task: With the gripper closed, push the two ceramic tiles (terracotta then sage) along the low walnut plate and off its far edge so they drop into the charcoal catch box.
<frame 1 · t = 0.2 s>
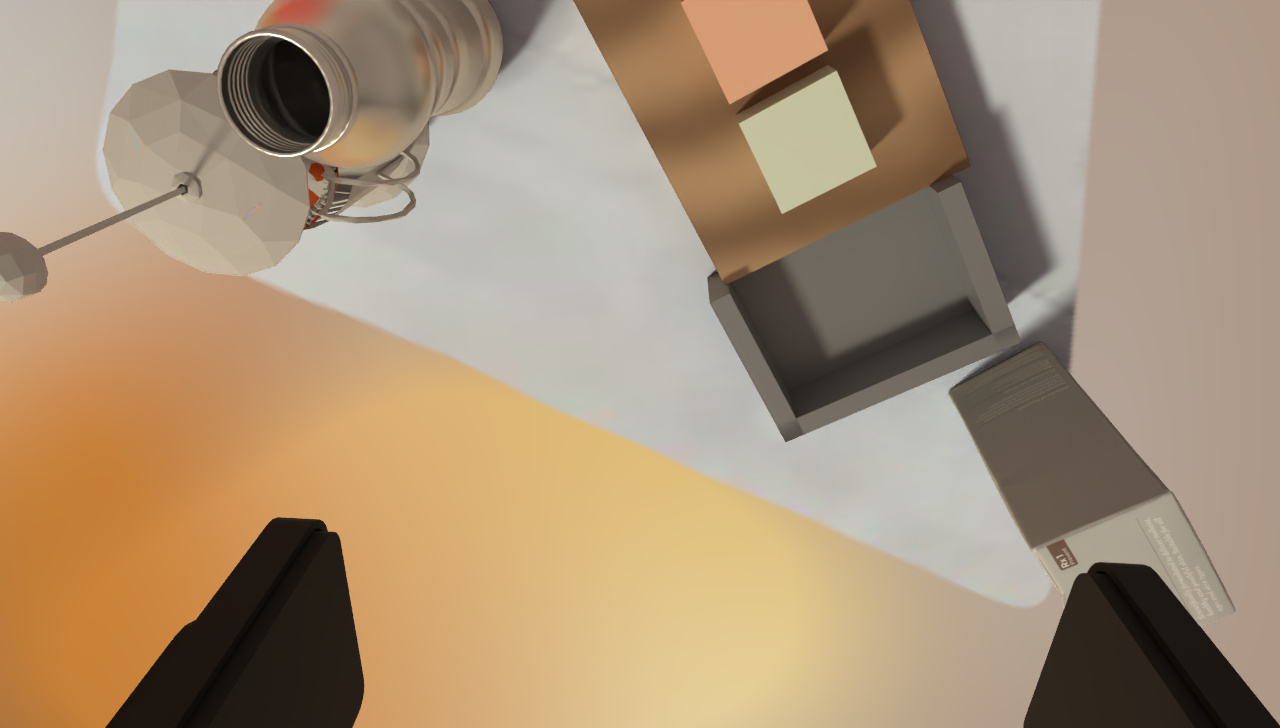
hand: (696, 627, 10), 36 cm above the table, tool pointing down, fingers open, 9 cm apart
catch box: (851, 295, 47), on the table
walnut plate: (767, 66, 41), on the table
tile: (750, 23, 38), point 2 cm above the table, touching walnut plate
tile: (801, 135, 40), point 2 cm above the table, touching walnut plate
metal bottle: (451, 41, 41), on the table
skincare box: (1012, 409, 50), on the table
french press: (358, 123, 44), on the table
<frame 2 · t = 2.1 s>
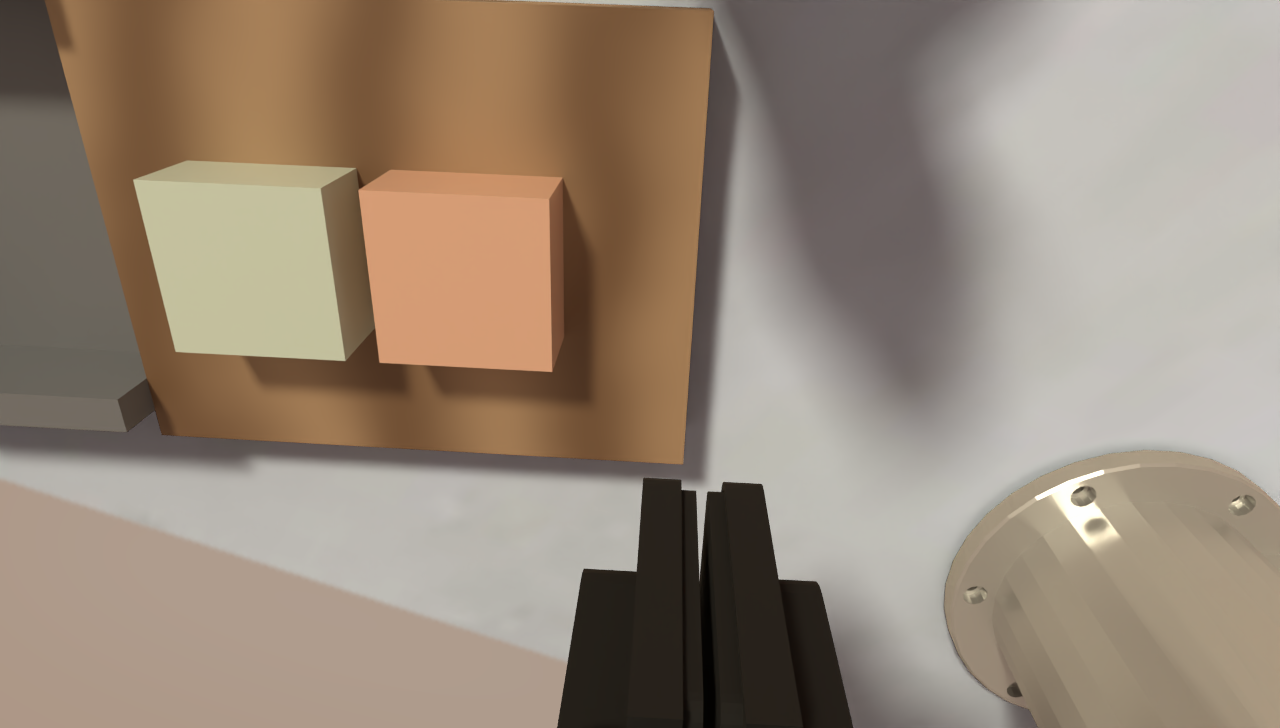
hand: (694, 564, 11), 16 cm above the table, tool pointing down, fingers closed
catch box: (3, 180, 26), on the table
walnut plate: (423, 229, 26), on the table
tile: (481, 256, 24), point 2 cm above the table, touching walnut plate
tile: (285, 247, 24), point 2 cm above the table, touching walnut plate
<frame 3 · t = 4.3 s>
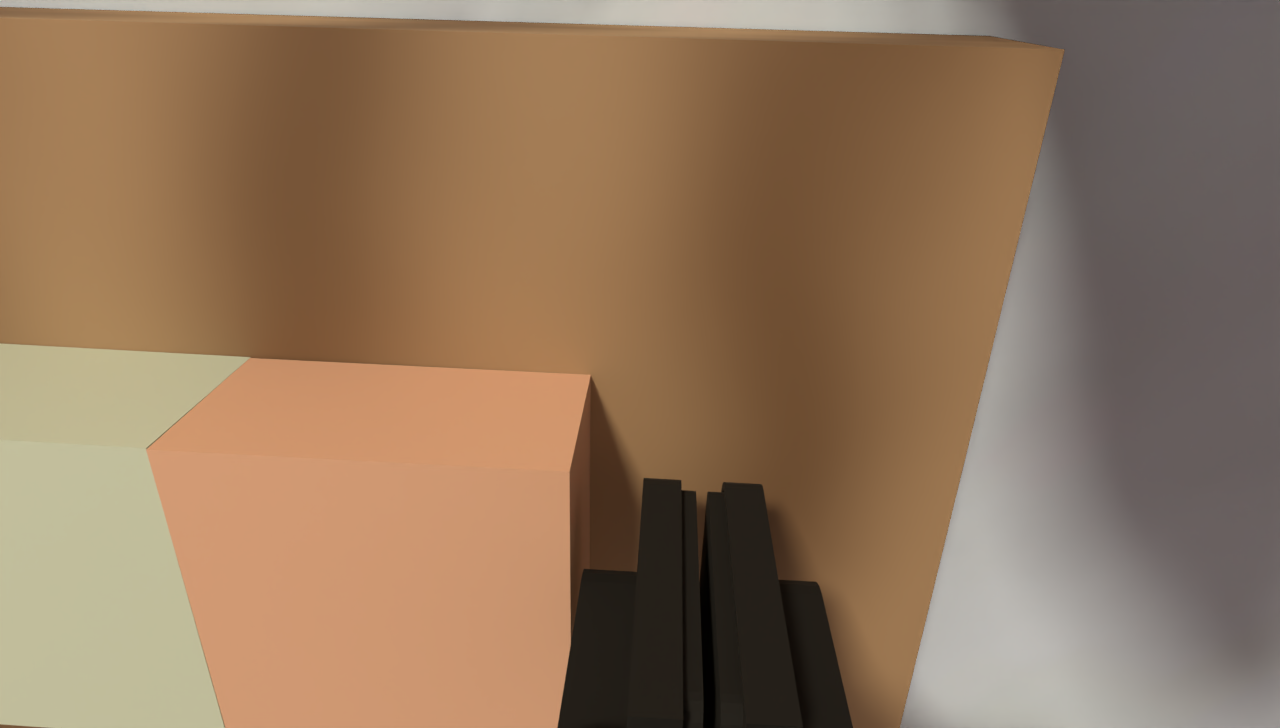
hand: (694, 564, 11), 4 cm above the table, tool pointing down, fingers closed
walnut plate: (424, 423, 15), on the table
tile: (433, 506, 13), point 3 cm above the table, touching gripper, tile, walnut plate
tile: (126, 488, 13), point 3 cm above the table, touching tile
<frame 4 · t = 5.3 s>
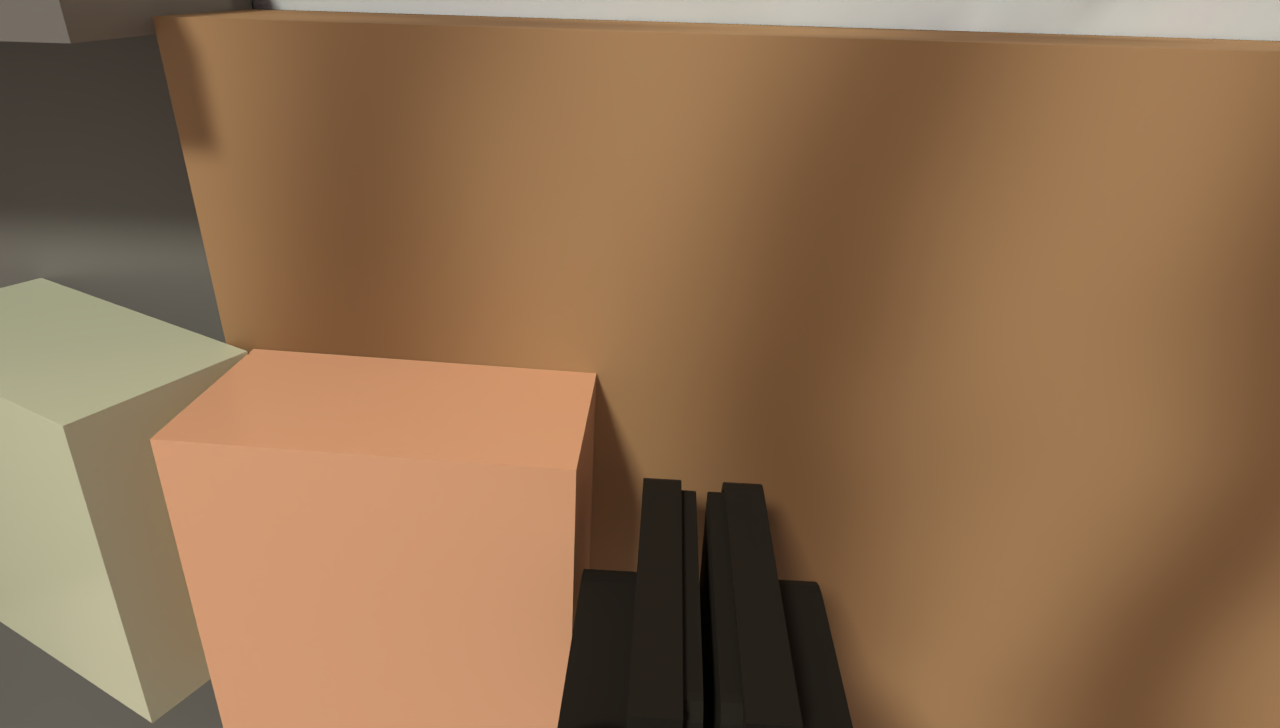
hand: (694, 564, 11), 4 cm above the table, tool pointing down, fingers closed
catch box: (48, 356, 15), on the table
walnut plate: (803, 438, 15), on the table
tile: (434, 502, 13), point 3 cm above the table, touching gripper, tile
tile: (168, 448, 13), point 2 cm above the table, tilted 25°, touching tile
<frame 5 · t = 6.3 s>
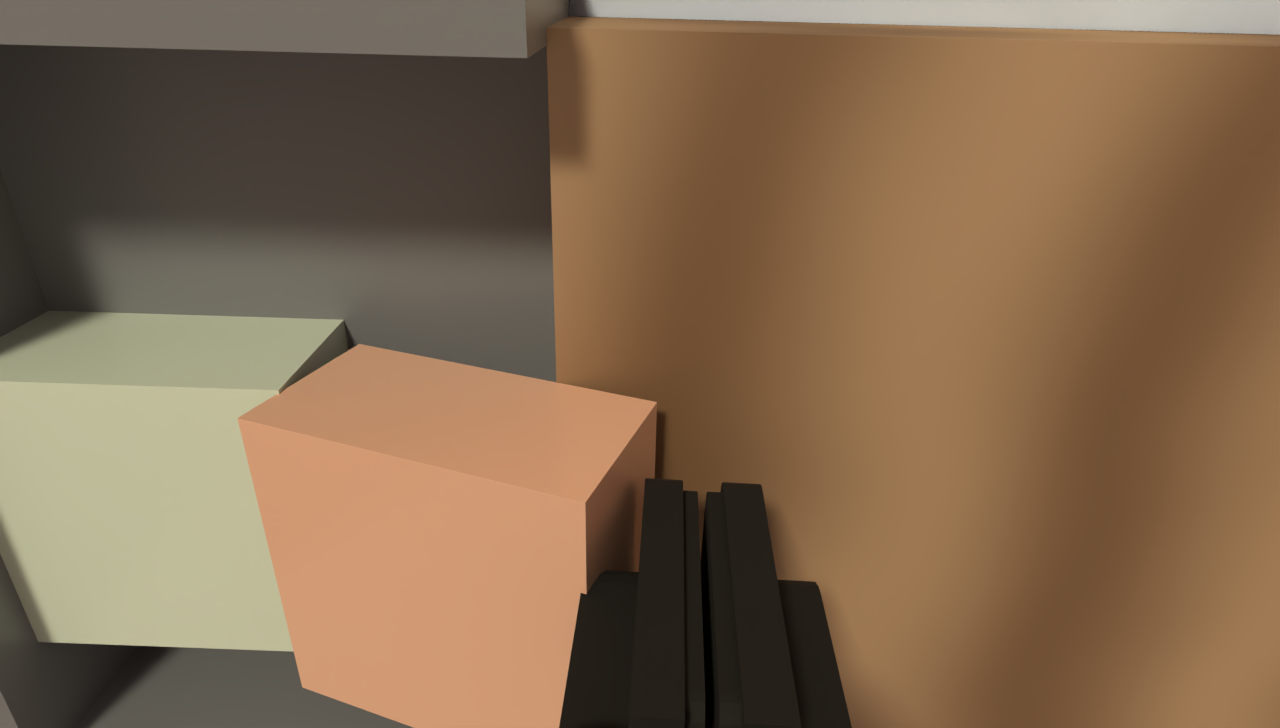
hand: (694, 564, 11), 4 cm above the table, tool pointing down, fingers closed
catch box: (300, 369, 14), on the table
walnut plate: (1061, 442, 15), on the table
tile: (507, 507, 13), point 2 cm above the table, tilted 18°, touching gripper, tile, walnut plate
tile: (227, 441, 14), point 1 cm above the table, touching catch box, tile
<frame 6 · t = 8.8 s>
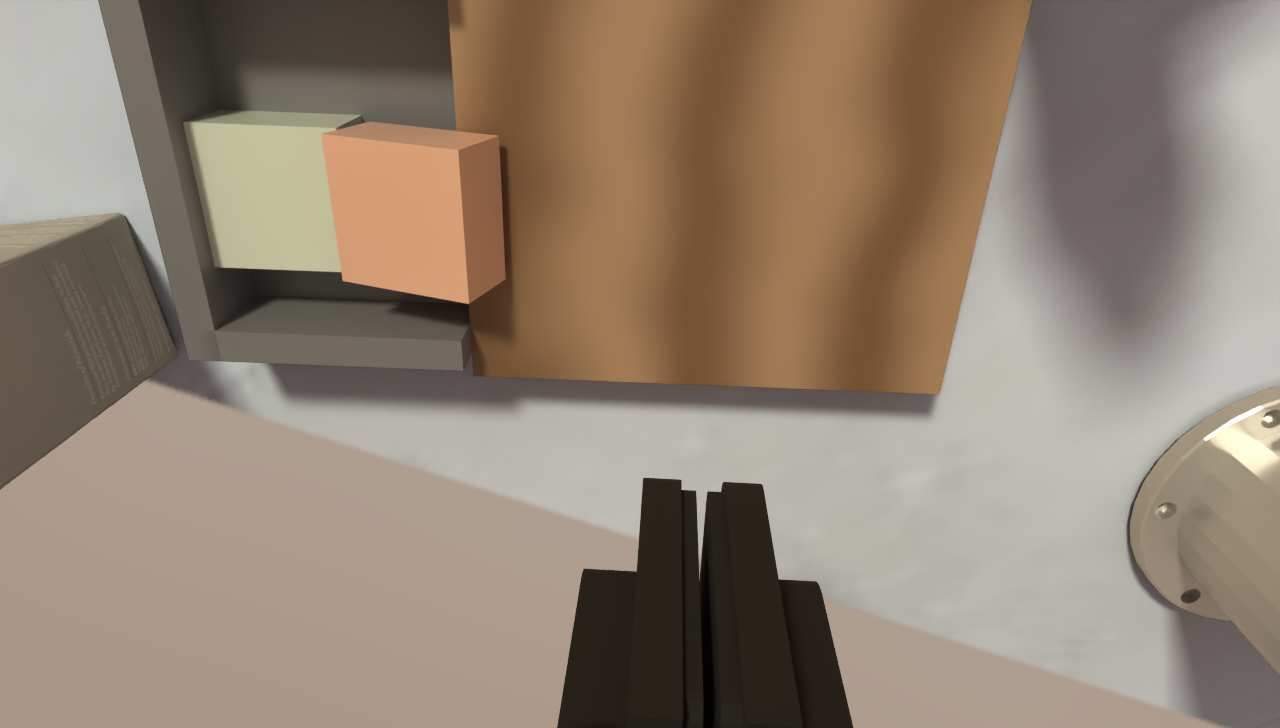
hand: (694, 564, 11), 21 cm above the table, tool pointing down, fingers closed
catch box: (338, 147, 29), on the table
walnut plate: (716, 188, 29), on the table
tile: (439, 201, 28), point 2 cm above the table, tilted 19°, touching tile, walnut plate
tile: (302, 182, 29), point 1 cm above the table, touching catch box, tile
skincare box: (66, 284, 32), on the table
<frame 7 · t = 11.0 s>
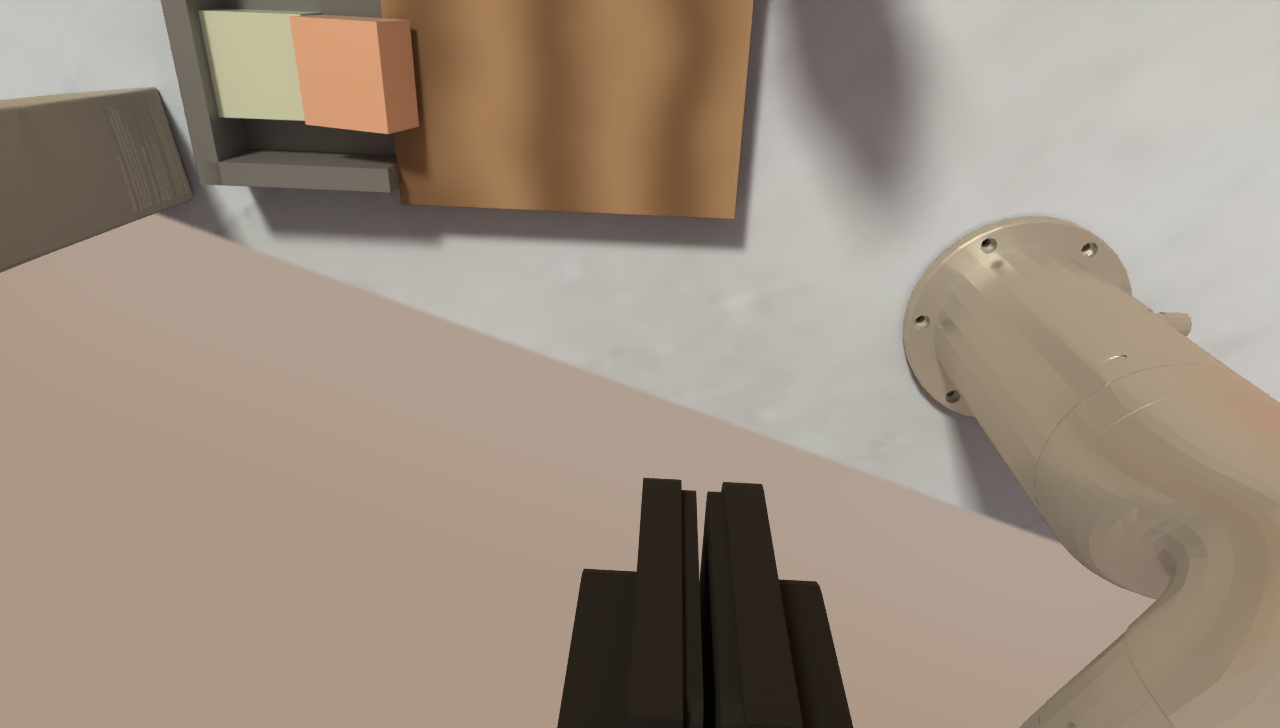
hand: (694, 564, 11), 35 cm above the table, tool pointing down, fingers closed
catch box: (306, 37, 41), on the table
walnut plate: (571, 68, 42), on the table
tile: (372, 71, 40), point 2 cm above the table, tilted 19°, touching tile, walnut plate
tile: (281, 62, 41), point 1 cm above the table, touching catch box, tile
skincare box: (115, 143, 45), on the table
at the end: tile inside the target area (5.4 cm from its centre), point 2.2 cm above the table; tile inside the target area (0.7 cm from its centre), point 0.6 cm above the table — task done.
